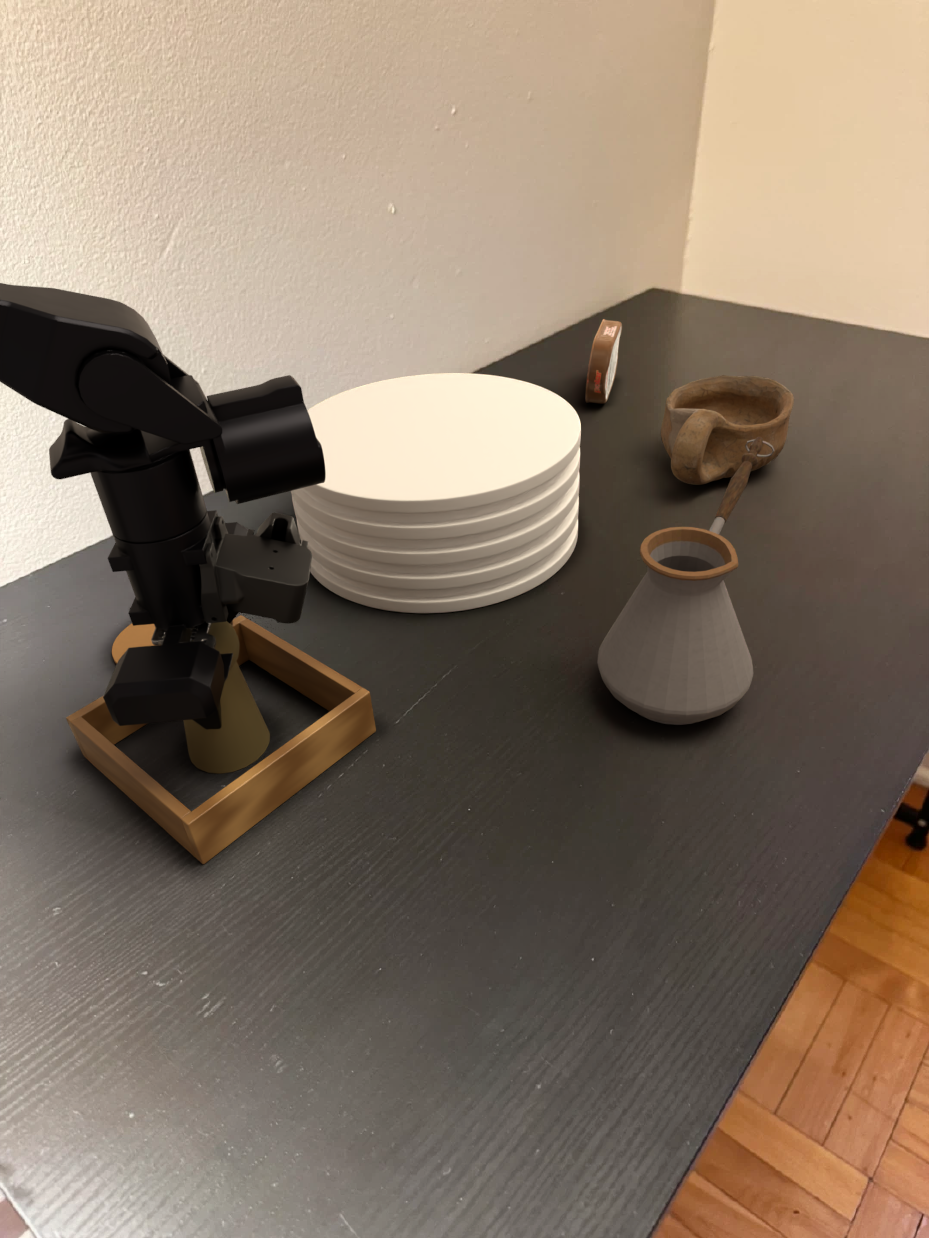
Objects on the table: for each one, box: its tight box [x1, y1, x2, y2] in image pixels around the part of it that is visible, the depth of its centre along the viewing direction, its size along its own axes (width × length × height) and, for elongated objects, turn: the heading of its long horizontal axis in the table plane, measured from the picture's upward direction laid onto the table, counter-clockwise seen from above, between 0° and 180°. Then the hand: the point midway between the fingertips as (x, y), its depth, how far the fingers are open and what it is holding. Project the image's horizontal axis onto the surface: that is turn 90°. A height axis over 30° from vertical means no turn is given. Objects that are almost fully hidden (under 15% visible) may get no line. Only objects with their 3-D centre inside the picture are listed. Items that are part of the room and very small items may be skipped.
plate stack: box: [290, 372, 582, 614], centre depth 83 cm, size 28×28×12 cm
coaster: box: [111, 623, 155, 665], centre depth 74 cm, size 9×9×1 cm
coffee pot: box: [596, 437, 774, 726], centre depth 64 cm, size 21×12×15 cm, turn 147°
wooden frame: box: [65, 614, 377, 865], centre depth 62 cm, size 16×16×4 cm
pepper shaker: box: [182, 621, 271, 775], centre depth 60 cm, size 6×6×11 cm
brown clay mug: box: [660, 374, 795, 486], centre depth 91 cm, size 18×14×10 cm
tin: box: [584, 318, 623, 404], centre depth 111 cm, size 15×3×8 cm, turn 165°
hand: (219, 706), depth 61 cm, fingers closed on pepper shaker, 4 cm apart
